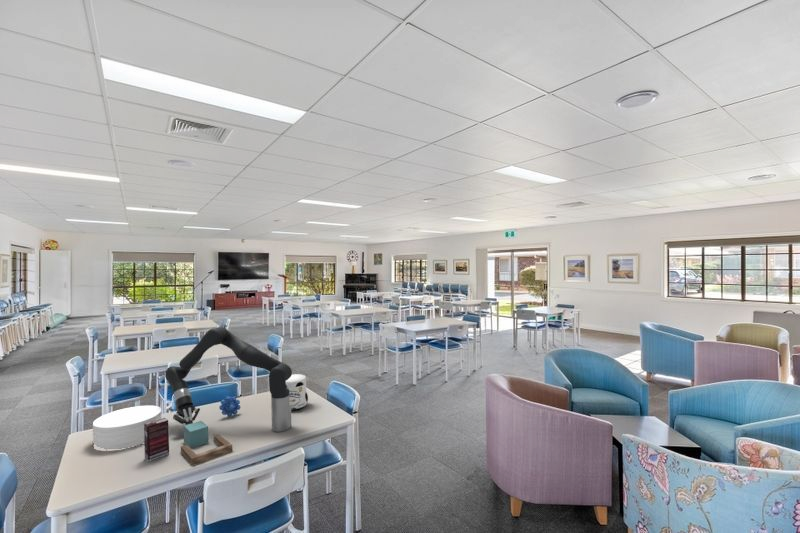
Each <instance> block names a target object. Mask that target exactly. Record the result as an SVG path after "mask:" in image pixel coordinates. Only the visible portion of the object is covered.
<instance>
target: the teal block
mask: <svg viewBox="0 0 800 533" xmlns="http://www.w3.org/2000/svg"><path fill="white" fill-rule="evenodd" d="M183 443H184V444H185V445H188V446H189V447H190V448H191V449H192V448H196V447H200V446H201V445H202V446H203V445H205V444H208V443H209V425H207V424H206V423H205V422H204V421H203V420H199V421H195V422H193V423H192V424H188V425H186V424H184V425H183Z"/></svg>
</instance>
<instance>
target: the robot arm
mask: <svg viewBox="0 0 800 533" xmlns="http://www.w3.org/2000/svg"><path fill="white" fill-rule="evenodd" d="M218 345H222V346H225V347H227V348H228V349H230V350H231V351H232V352H233V353H234V355H235V356H236V358H237V359H238V360H240V361H241V362H243V363H244V364H246V365H248V366H251V367H254V368H260V369H263V370H266V371H268V372H269V374H268V385H269V393H270V396H271V398H270V400H271V401H270V403H271V430H272V431H273V432H277V433H279V432H284V431H287V430H289V429H290V428H292V410H291V409H290V397H289V389H288V388H286V380H288V379H289V378H290V377H291V375H293V370H292V369H291V367H290V366H289V365H288V364H286V363H284V362H282V361H280V360H278V359H275V358H273V357H272V356H270V355H269V354H267V353H265V352H263V351H262V350H260V349H258V348H257V347H255V346H254V345H252V344H249V343H248V342H246V341H245V340H243V339H240V338H239V337H237V336H236V335H235V334H233V333H232V332H231V331H229V330H228V329H227V328H225V327H222V326H221V327H214V328H210V329H209V330H207V331H206V332H205V334H204V335H203V337H202V338H201V339H200V340H199V341H198V343H197V344H196V345H195V346H194V347H193V348H192V349H191V350H190V351H189V352H188V353H187V354H186V355H185V356H184V357H183V358H181V359H180V360H179V363H178V364H179V366H169V367H167V369H166V370H165V372H164V373H165V375H164V377H165V379H166V381H167V383H168V385H169V387H170V388H171V390H172V393H173V399H174V400H173V401H174V404H175V407H176V408H175V409H176V413H175V414H173V416H172V419H173V420H175V421H176V422H177V423H179V424H181V425H183V424H184V425H188V424H192V423H194V421H195V420H196V419H197V417H198V415H199V413H200V411H201V408H199V407H198V408H197V407H195V404H194V402H193V399H192V394H191V392H190V390H189V386H188V383H187V381H186V380H184V379H185V378H186V377H187V376H188V375H189V373H190V371H191V370H192V368H194V366H196V364H197V363H198V362H200V360H201V359H202V357H203V356H204V354H205V353H206V352H207V351H209V349H211V348H212V347H214V346H218ZM193 413H194V414H193Z"/></svg>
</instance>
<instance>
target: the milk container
mask: <svg viewBox="0 0 800 533" xmlns="http://www.w3.org/2000/svg"><path fill="white" fill-rule="evenodd" d="M286 388H288V389H289V397H290V409H291V411H296V410H300V409H302V408H304V407H306V405H308V401H309V394H308V392H307V377H306V375H304V374H300V373H299V374H298V373H297V374H295V373H294V374H293V373H292V375H291V377H290V378H289V379H288V380H286Z"/></svg>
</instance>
